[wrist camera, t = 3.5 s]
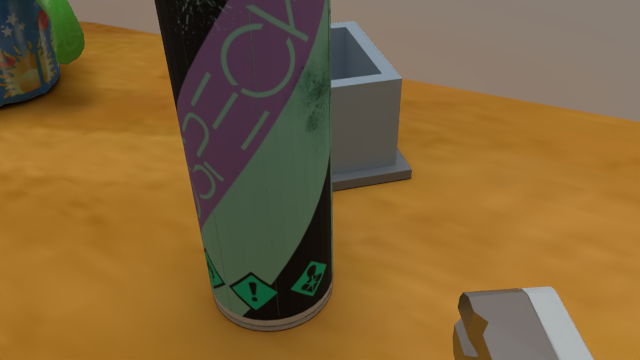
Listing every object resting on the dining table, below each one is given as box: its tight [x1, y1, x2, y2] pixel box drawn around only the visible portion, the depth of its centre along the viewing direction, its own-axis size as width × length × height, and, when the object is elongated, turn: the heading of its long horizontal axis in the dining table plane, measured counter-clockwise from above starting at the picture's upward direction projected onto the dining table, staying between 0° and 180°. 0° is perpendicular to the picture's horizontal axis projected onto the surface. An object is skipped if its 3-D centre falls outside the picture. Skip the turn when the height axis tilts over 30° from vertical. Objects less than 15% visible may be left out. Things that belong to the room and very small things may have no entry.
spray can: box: [155, 0, 333, 331], centre depth 19 cm, size 6×6×20 cm
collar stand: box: [331, 21, 412, 191], centre depth 33 cm, size 10×10×6 cm
